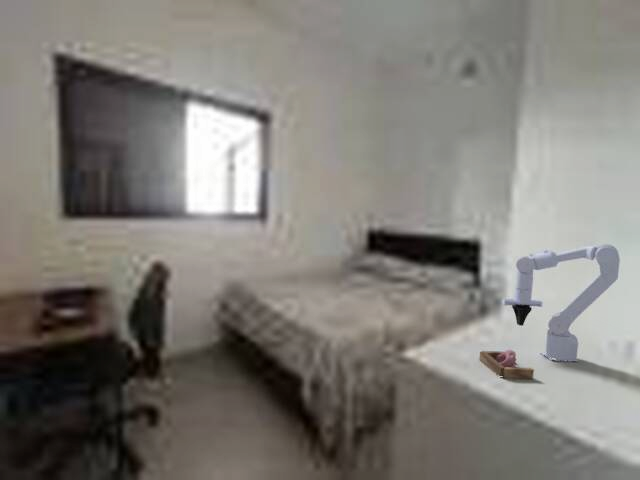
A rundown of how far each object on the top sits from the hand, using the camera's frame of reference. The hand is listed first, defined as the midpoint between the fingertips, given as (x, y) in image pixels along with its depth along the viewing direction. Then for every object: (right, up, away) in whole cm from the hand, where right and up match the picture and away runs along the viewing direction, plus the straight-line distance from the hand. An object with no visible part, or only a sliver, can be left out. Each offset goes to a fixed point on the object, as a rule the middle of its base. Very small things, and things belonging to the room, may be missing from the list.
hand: (519, 324), depth 162 cm
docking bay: (-15, -10, -20) cm, 27 cm away
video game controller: (-14, -11, -19) cm, 26 cm away
